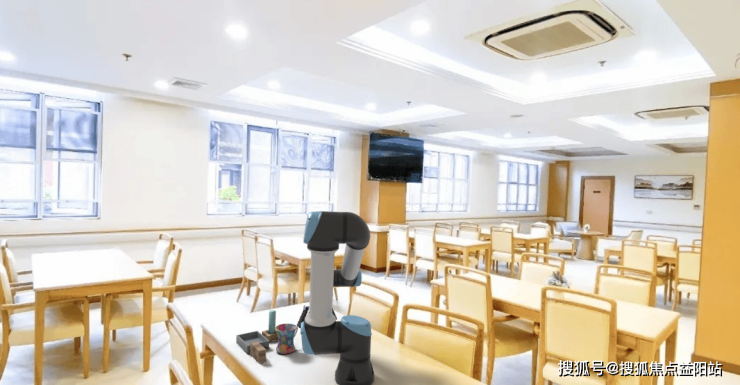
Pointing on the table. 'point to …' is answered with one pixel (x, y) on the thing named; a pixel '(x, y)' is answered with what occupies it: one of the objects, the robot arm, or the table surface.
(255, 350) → the block
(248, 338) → the tray
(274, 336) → the socket
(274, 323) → the dowel
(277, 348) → the mug
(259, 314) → the table surface
